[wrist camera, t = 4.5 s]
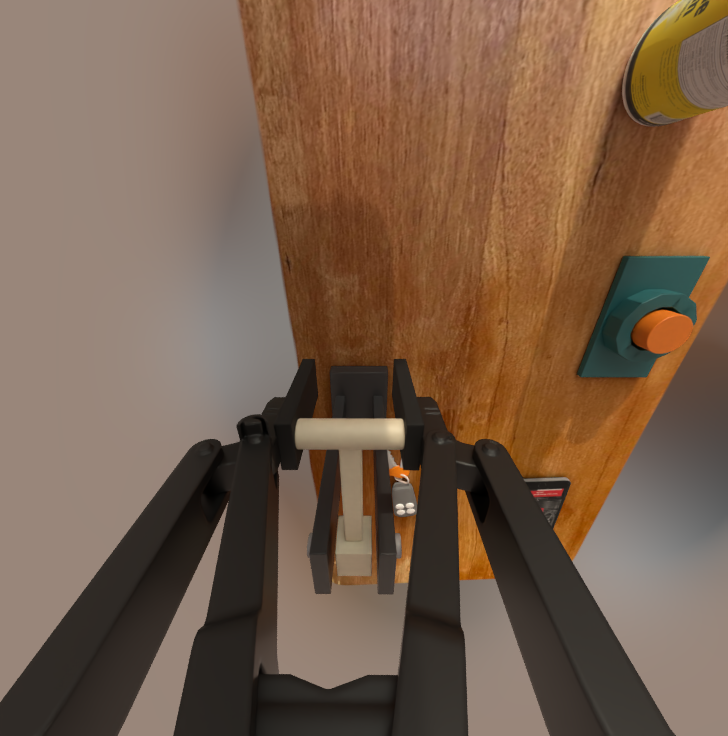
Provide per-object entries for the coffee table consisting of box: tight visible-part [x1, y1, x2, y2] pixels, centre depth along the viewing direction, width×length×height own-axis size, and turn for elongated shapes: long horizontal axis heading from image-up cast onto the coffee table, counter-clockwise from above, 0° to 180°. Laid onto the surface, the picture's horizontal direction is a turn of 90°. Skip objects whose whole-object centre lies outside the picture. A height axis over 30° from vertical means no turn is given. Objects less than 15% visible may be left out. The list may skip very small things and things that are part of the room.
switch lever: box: [295, 418, 405, 576], centre depth 16 cm, size 12×5×2 cm, turn 0°
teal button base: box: [577, 256, 710, 377], centre depth 27 cm, size 12×7×2 cm, turn 0°
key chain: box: [387, 450, 417, 517], centre depth 38 cm, size 13×4×2 cm, turn 10°
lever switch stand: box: [307, 366, 402, 594], centre depth 25 cm, size 10×6×18 cm, turn 0°
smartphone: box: [524, 477, 571, 528], centre depth 41 cm, size 7×1×15 cm
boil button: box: [631, 309, 693, 354], centre depth 25 cm, size 4×4×2 cm
